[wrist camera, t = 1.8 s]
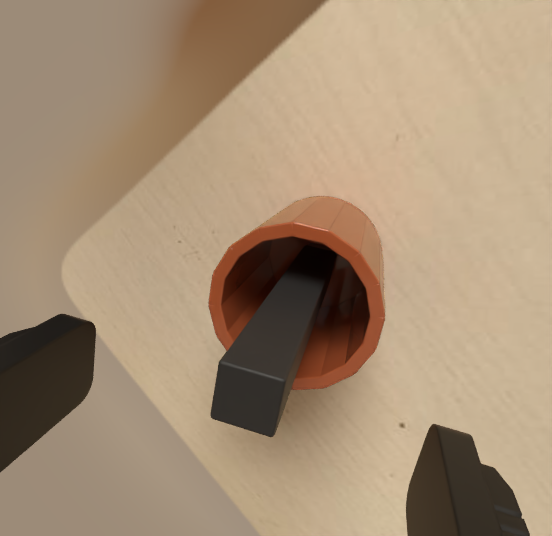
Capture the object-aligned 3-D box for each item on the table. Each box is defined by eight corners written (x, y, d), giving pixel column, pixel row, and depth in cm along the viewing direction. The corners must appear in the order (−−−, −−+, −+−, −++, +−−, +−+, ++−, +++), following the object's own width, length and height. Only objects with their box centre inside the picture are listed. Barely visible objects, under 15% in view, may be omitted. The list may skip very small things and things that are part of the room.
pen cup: (275, 184, 22) (222, 205, 15) (396, 210, 21) (406, 248, 14) (255, 294, 24) (199, 363, 17) (365, 323, 23) (358, 410, 16)
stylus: (307, 239, 22) (218, 360, 10) (338, 247, 22) (286, 381, 9) (301, 269, 22) (208, 418, 10) (331, 276, 22) (273, 439, 10)
